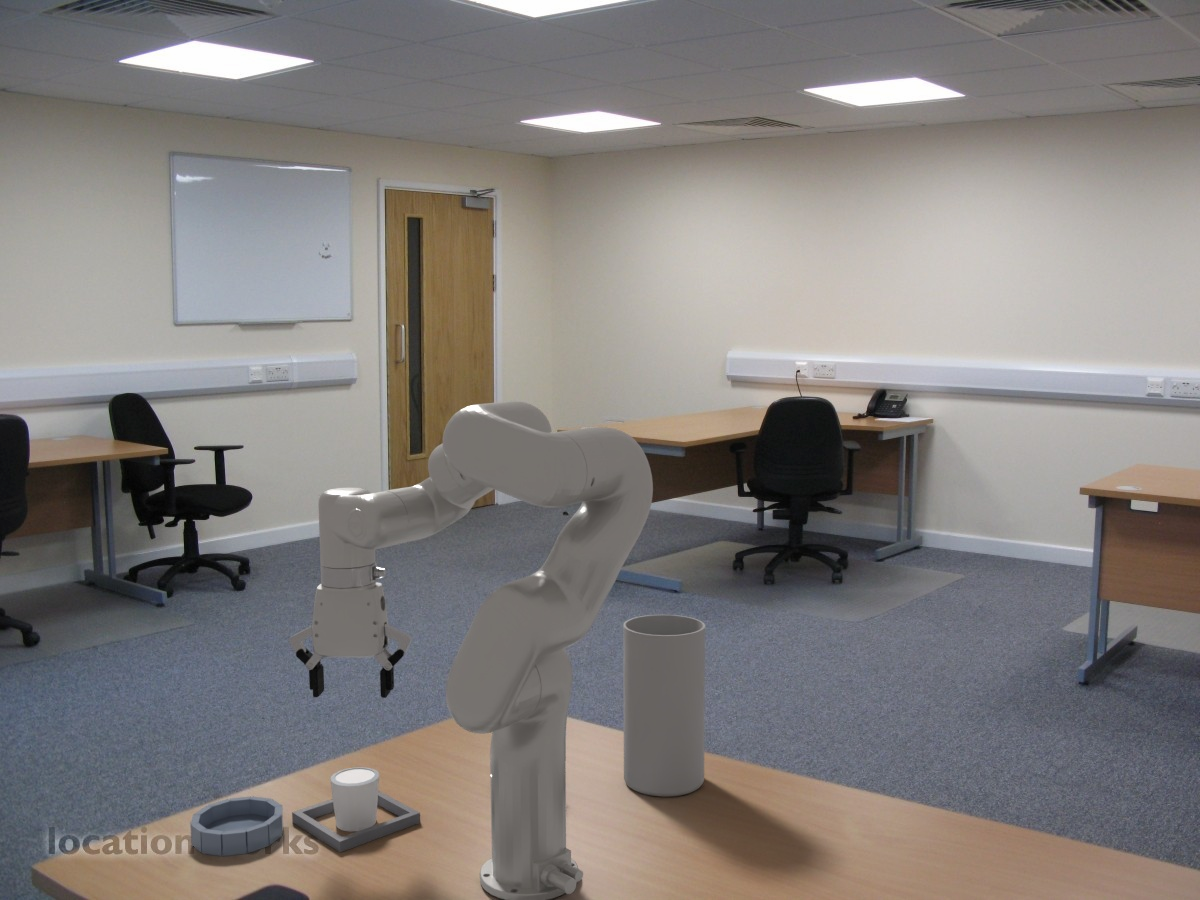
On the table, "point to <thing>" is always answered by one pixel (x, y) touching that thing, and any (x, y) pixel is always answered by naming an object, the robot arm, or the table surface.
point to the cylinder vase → (664, 704)
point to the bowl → (237, 826)
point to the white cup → (355, 798)
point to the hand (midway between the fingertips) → (352, 694)
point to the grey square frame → (405, 820)
